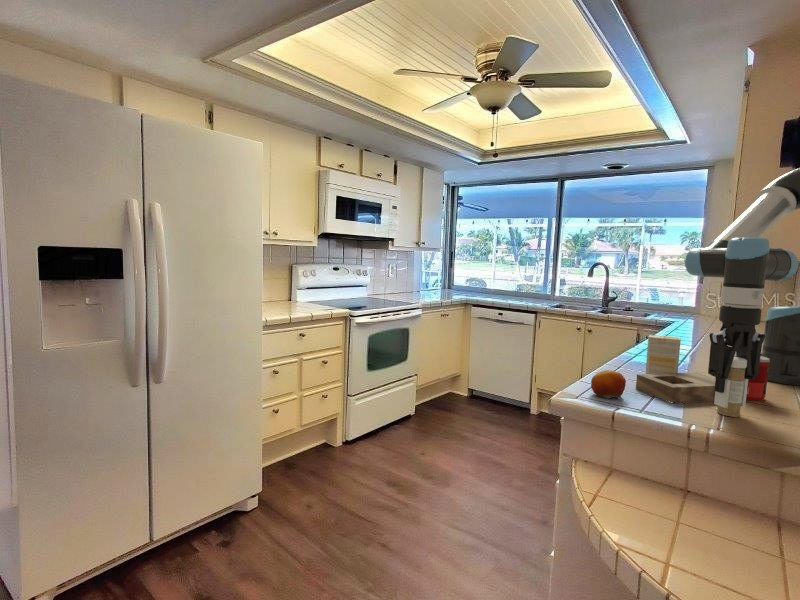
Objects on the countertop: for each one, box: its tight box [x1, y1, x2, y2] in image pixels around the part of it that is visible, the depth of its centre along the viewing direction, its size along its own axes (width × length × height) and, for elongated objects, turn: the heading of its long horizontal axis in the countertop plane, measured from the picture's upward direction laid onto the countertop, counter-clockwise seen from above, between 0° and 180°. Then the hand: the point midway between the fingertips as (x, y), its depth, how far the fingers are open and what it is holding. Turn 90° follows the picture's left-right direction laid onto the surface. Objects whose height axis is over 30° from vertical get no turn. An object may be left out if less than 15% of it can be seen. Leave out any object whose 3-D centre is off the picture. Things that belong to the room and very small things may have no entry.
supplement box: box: [644, 334, 681, 374], centre depth 132 cm, size 8×5×13 cm, turn 56°
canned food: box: [734, 352, 770, 402], centre depth 118 cm, size 8×8×11 cm
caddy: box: [635, 372, 716, 403], centre depth 118 cm, size 20×12×4 cm, turn 103°
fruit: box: [590, 369, 627, 401], centre depth 114 cm, size 8×8×8 cm
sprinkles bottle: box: [716, 357, 747, 418], centre depth 103 cm, size 5×5×14 cm
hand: (729, 405), depth 103 cm, fingers closed on sprinkles bottle, 4 cm apart
